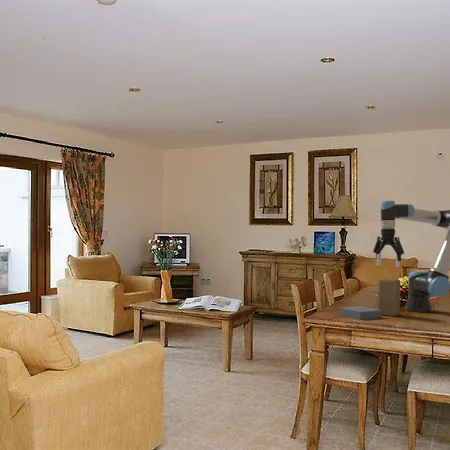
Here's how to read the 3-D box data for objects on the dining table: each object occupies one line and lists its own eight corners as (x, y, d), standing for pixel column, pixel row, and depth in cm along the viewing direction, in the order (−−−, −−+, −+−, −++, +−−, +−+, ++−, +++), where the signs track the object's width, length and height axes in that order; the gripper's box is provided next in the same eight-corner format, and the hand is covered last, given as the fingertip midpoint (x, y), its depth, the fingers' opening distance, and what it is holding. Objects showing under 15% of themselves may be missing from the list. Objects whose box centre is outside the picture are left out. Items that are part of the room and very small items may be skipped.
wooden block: (400, 314, 298) (400, 279, 298) (395, 316, 290) (396, 280, 290) (382, 312, 304) (383, 278, 304) (377, 314, 295) (378, 279, 295)
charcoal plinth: (360, 312, 301) (360, 305, 301) (381, 317, 287) (381, 310, 287) (339, 314, 293) (339, 307, 293) (359, 319, 279) (359, 312, 279)
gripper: (366, 228, 302) (366, 264, 302) (401, 228, 280) (401, 268, 281) (375, 228, 306) (376, 264, 306) (410, 228, 284) (411, 267, 284)
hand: (388, 266), depth 293 cm, fingers open, 13 cm apart
